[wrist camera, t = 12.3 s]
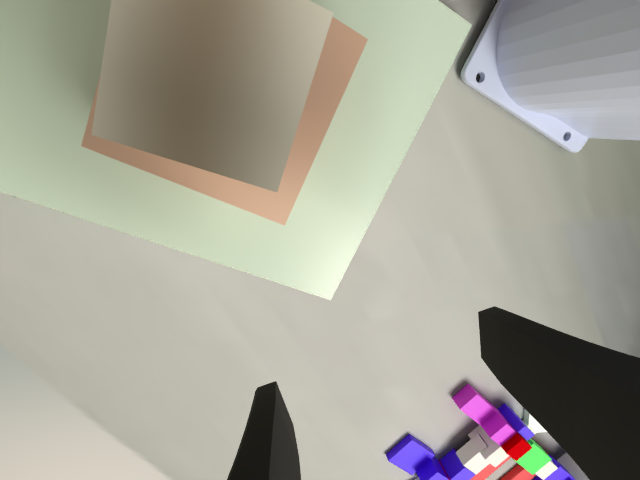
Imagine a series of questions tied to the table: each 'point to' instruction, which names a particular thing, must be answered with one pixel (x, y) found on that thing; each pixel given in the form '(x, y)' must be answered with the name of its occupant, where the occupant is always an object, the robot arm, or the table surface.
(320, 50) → the top brick
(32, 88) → the base plate
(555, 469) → the building block set
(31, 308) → the table surface
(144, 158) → the base brick
